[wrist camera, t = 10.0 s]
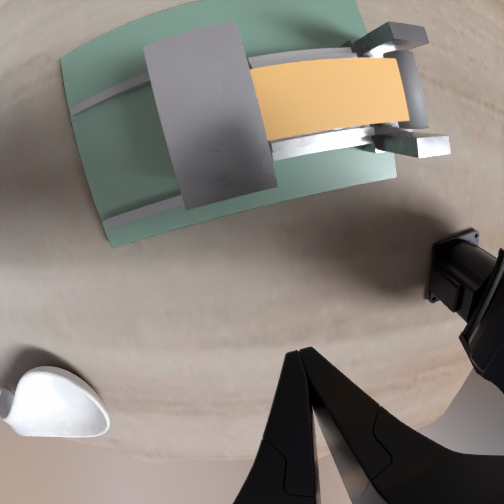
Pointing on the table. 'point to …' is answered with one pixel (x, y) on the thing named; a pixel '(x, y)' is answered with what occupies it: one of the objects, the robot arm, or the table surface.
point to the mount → (389, 133)
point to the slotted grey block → (318, 139)
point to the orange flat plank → (340, 94)
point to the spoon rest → (54, 405)
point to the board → (149, 125)
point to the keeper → (210, 115)
